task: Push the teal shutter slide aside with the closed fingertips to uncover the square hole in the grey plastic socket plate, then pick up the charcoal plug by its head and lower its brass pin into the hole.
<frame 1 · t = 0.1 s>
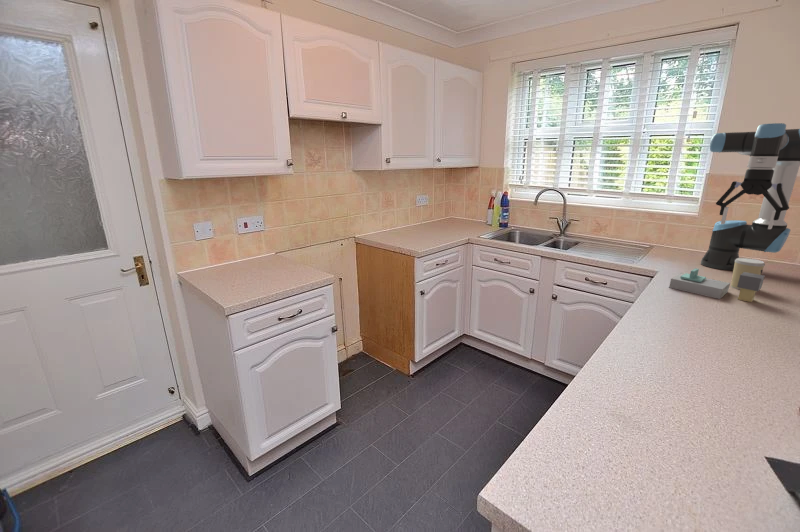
hand: (745, 226, 142), 28 cm above the counter, fingers open, 13 cm apart
plug: (745, 299, 145), on the counter
shutter: (693, 274, 156), point 6 cm above the counter, slide at 0.0 cm
socket plate: (697, 289, 156), on the counter
coffee cup: (742, 288, 158), on the counter
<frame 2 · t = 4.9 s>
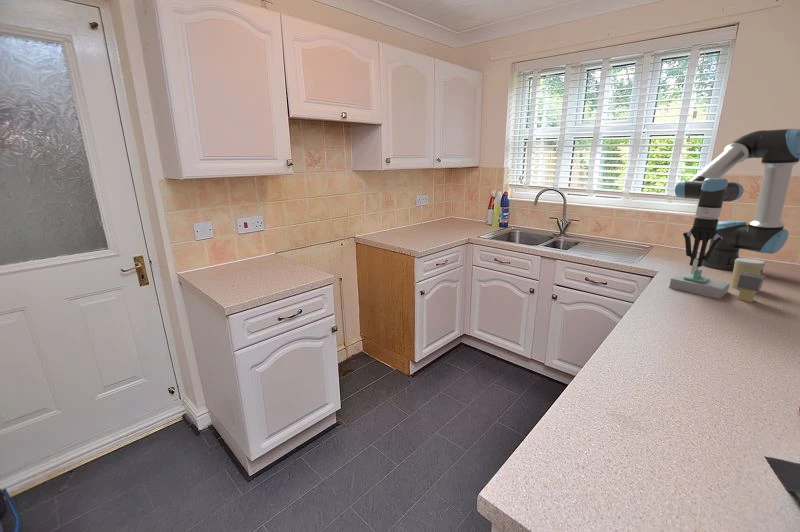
hand: (693, 273, 156), 6 cm above the counter, fingers closed
shutter: (697, 274, 155), point 6 cm above the counter, slide at 1.2 cm, touching gripper
everything else where it was.
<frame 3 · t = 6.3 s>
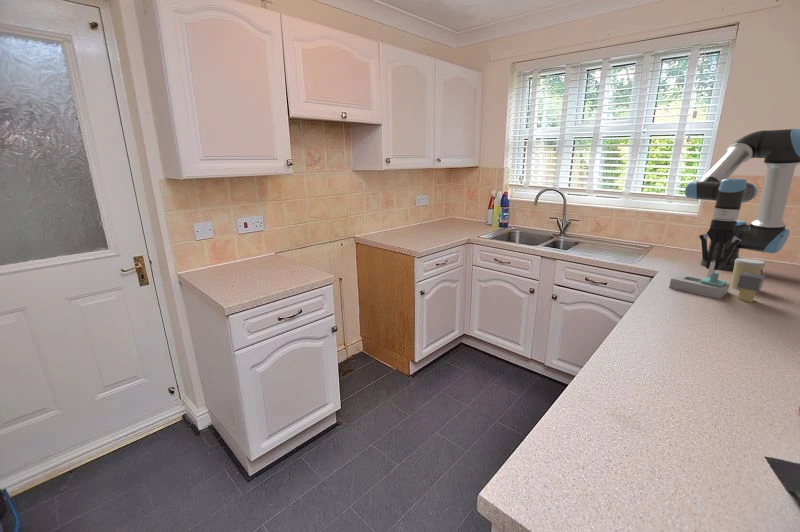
hand: (710, 276, 152), 6 cm above the counter, fingers closed
shutter: (714, 278, 151), point 6 cm above the counter, slide at 6.7 cm, touching gripper
everything else where it was.
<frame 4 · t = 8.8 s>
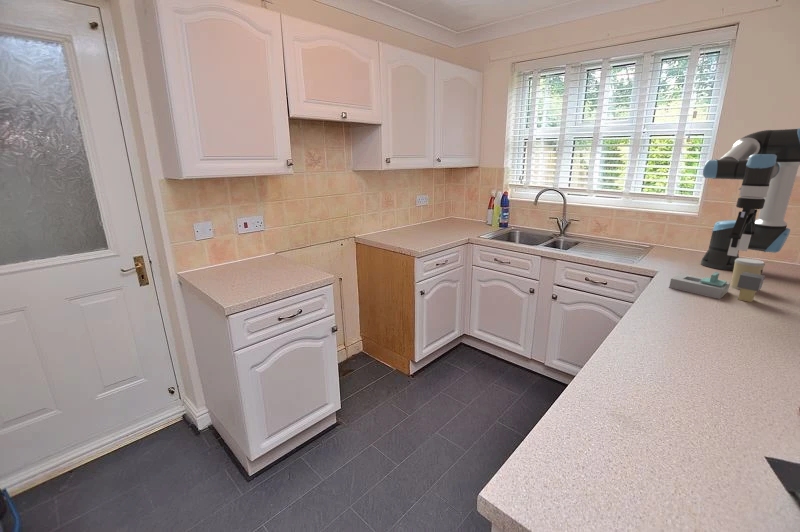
hand: (737, 253, 144), 18 cm above the counter, fingers open, 13 cm apart
shutter: (714, 278, 151), point 6 cm above the counter, slide at 6.8 cm
everything else where it was.
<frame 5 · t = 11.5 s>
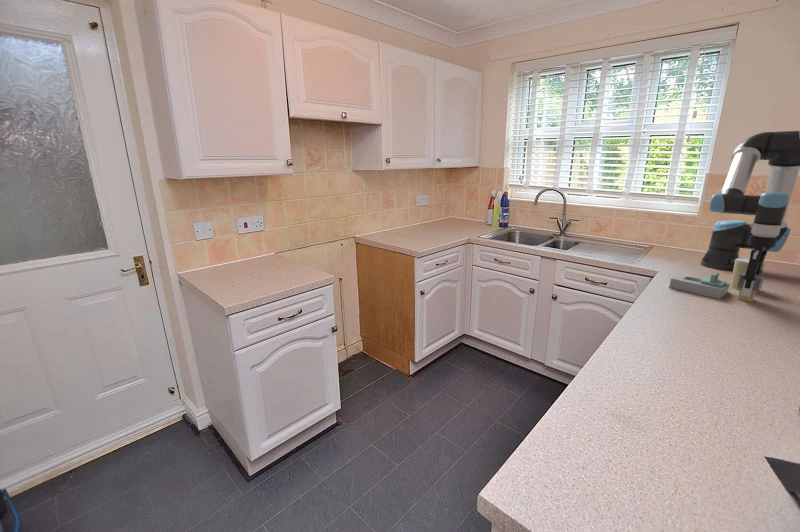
hand: (747, 293, 144), 2 cm above the counter, fingers closed on plug, 6 cm apart
plug: (745, 299, 145), on the counter, touching gripper
everything else where it was.
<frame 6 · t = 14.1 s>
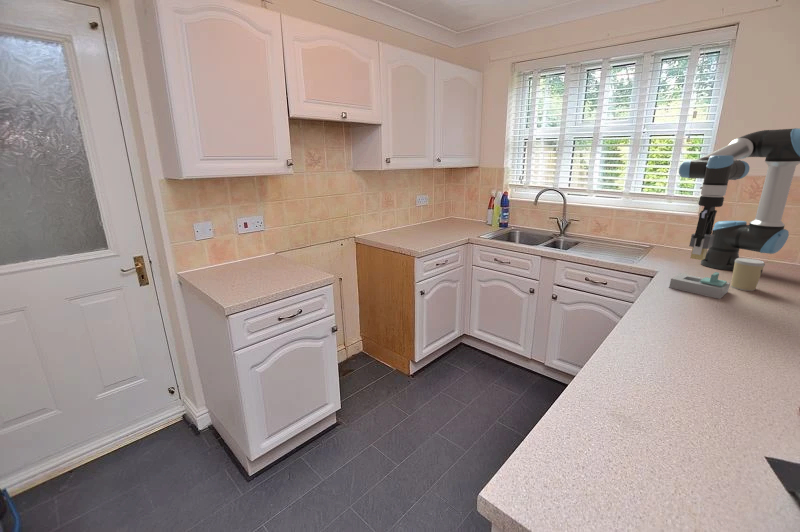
hand: (698, 252, 153), 15 cm above the counter, fingers closed on plug, 6 cm apart
plug: (697, 258, 154), point 13 cm above the counter, touching gripper
everything else where it was.
when the fingers open (4 cm above the counter, at t = 16.9 s): plug drops 2 cm, resting on socket plate.
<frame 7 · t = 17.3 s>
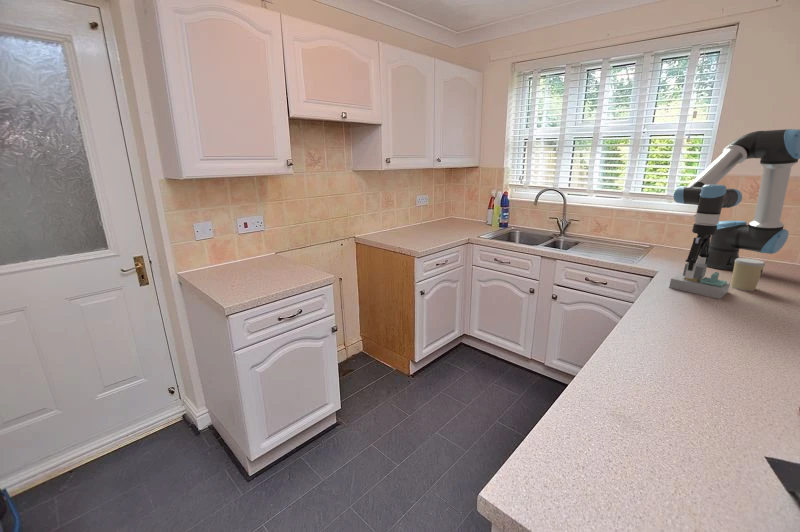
hand: (693, 274, 156), 6 cm above the counter, fingers open, 12 cm apart
plug: (691, 287, 157), resting on socket plate
everything else where it was.
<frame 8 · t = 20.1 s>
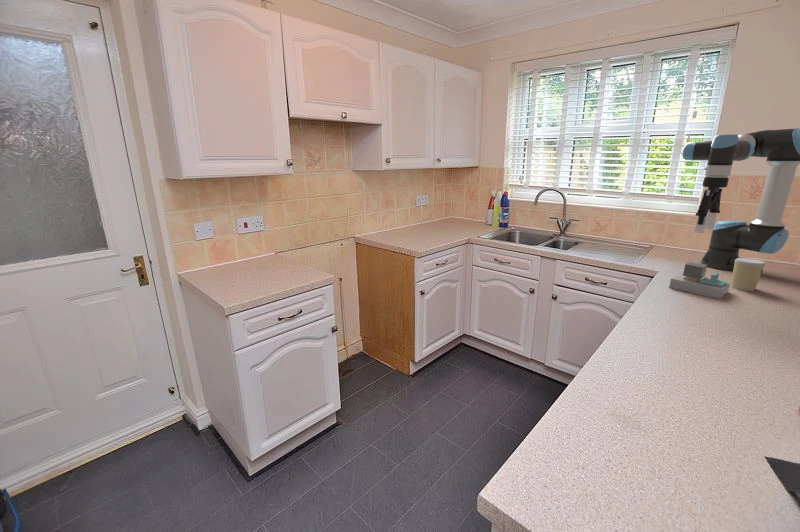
hand: (704, 230, 150), 25 cm above the counter, fingers open, 13 cm apart
nothing on the counter moved.
at the end: plug 0.1 cm from the target spot on the socket plate, point 0.4 cm above the socket plate's base; shutter slide at 6.8 cm; plug tilted 0° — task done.
